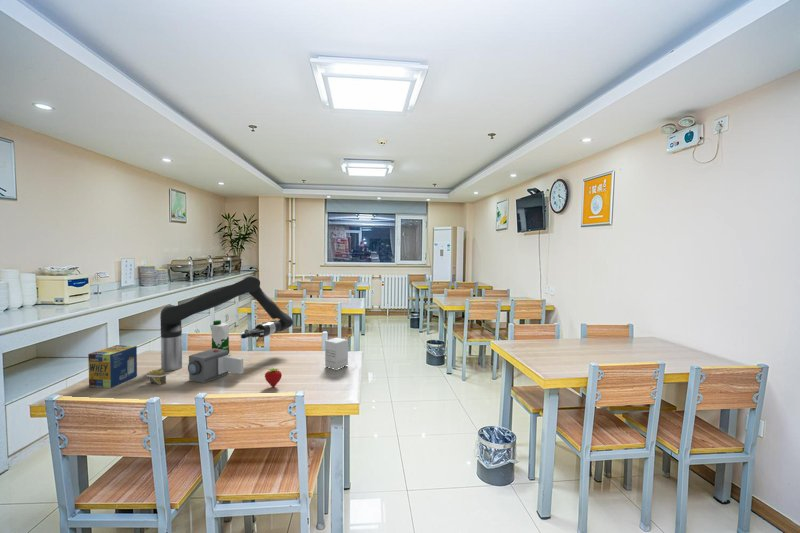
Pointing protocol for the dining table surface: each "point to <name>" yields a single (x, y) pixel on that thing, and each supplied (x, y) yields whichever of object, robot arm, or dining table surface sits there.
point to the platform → (157, 376)
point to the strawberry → (273, 376)
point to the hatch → (230, 364)
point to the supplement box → (336, 353)
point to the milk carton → (220, 335)
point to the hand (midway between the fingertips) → (242, 336)
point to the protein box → (112, 366)
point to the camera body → (205, 365)
